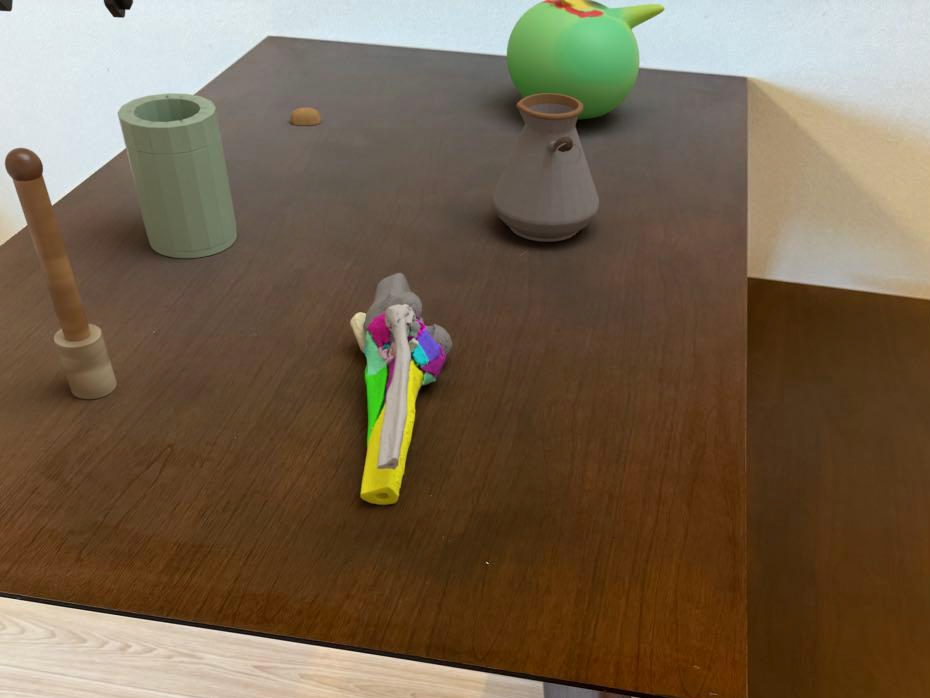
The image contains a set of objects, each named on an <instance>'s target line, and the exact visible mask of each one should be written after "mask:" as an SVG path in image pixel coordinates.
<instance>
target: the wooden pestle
mask: <svg viewBox="0 0 930 698" xmlns="http://www.w3.org/2000/svg"><path fill="white" fill-rule="evenodd" d="M4 168H5V170H6V173H7V174H8V176H9V177H10V178H11V179H12V183H13V185H14V188H15V189H14V190H15V192H16V195H17V198H18V201H19V204H20V207H21V211H22V213H23V216H24V219H25V222H26V225H27V228H28V230H29V231H28V232H29V234H30V237H31V240H32V243H33V247H34V250H35V252H36V256H37V259H38V261H39V264H40V268H41V271H42V274H43V277H44V280H45V283H46V286H47V289H48V292H49V295H50V297H51V301H52V304H53V308H54V310H55V313H56V317H57V319H58V322H59V326H60V329H59V330H58V331H56V333H55V334H54V336H53V342H54V344H55V348H56V350H57V353H58V356H59V359H60V362H61V365H62V368H63V371H64V374H65V378H66V380H67V383H68V385H69V388H70V392H71V394H72V395H73V396H74V397H76V398H78V399H81V400H95V399H101V398H104V397H107V396H108V395H110V394H112V393H113V392H114V391H115V390H116V388H117V385H118V382H117V379H116V375H115V372H114V369H113V365H112V362H111V359H110V355H109V352H108V348H107V345H106V342H105V338H104V335H103V332H102V329H101V328H100V327H99V326H98V325H95V324H93V323H89V321H88V318H87V315H86V312H85V309H84V306H83V302H82V299H81V296H80V293H79V288H78V286H77V283H76V280H75V276H74V272H73V270H72V266H71V263H70V260H69V257H68V253H67V250H66V247H65V244H64V240H63V237H62V233H61V231H60V227H59V224H58V220H57V217H56V214H55V210H54V208H53V204H52V201H51V198H50V195H49V192H48V188H47V184H46V181H45V179H44V175H43V173H44V165H43V162H42V159H41V158H40V157H39V155H38V154H37V153H36V152H34V151H33V150H31V149H29V148H25V147H16V148H13V149H11V150H10V151H9V152H8V153H7V154H6V156H5V159H4Z"/></svg>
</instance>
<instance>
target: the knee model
mask: <svg viewBox="0 0 930 698" xmlns="http://www.w3.org/2000/svg"><path fill="white" fill-rule="evenodd" d="M422 303H423V302H422V300H421V299H420V297H419V296H418V295H417V294H415V292H412V290H411V288H410V286H409V283H408V280H407V278H406V276H405V275H404V274H403V273H402V272H397V273H393V274H391V275H389V276H386V277H385V278H383V279H381V280H380V281H379V282H378V284H377V285H376V289H375V295H374V300H373V303H372V304H371V306H370V307H368V310H367V311H366V313H365V312H360V311H359V312H357V313H355V314H354V315H353V317H352V318H351V319H350V323H349V324H350V327H351V329H352V331H353V334H354V335H353V336H354V337H355V339H356V342H357V344H358V347H359V349H360V351H361V352H362V353H363V354H364V356H365V358H366V366H365V369H364V382H365V385H366V398H367V399H366V400H367V401H366V402H367V433H366V434H367V436H366V437H367V438H366V448H367V449H366V457H365V461H364V462H365V463H364V469H363V473H362V480H361V486H360V487H361V488H360V494H359V495H360V498H361V499H362V500H363V501H365V502H367V503H369V504H374V505H375V504H376V505H380V506H381V505H382V506H386V505H394V504H396V503H397V502H398V500H399V496H400V490H401V488H402V486H401V485H402V482H403V476H404V475H405V469H406V462H407V457H408V456H407V455H408V451H409V449H410V445H411V441H412V436H413V430H414V425H415V420H416V412H417V410H416V401H417V399H418V395H419V391H420V390H421V387H423V386H427V385H430V384H431V383H433V382H436V381H437V380H436V378H437V376H438V375H440V372H441V371H442V370H443V366H444V365H445V363H446V359H447V356H448V355H449V354H450V352H451V351H452V349H453V346H454V344H453V341H452V339H451V335H450V334H449V332H447V330H446V329H445V328H444V327H442V326H441V325H438V324H436V323H433V324H432V325H426V324H425V322H424V318H423V317H422V313H423V304H422Z"/></svg>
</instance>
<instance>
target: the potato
mask: <svg viewBox="0 0 930 698" xmlns="http://www.w3.org/2000/svg"><path fill="white" fill-rule="evenodd" d="M290 123H291V124H292V125H294V126H315V125H320V124H321V123H322V117H321V114H320V112H319V111H318V109H315V108H314V107H313V108H312V107H306V106H303V107H298V108H296V109H294V110H292V112H291V114H290Z"/></svg>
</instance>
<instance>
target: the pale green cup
mask: <svg viewBox="0 0 930 698" xmlns="http://www.w3.org/2000/svg"><path fill="white" fill-rule="evenodd" d="M117 118H118V120H119V125H120V128H121V129H120V130H121V134H122V138H123V141H124V145H125V151H126V154H127V159H128V162H129V166H130V171H131V175H132V179H133V183H134V187H135V191H136V194H137V199H138V205H139V208H140V212H141V217H142V221H143V224H144V228H145V233H146V236H147V238H148V243H149V246H150V247H151V249H152V250H153V251H155V252H156V253H157V254H159V255H162V256H164V257H170V258H175V259H199V258H205V257H209V256H212V255H213V256H214V255H216V254H219V253H222V252H223V251H225V250H227V249H229V248H231V246H232V245H234V243H235V242H236V241H237V237H238V232H237V222H236V215H235V211H234V205H233V198H232V194H231V188H230V181H229V176H228V171H227V165H226V157H225V154H224V146H223V140H222V136H221V135H222V134H221V129H220V124H219V118H218V111H217V107H216V106H215V104H214V103H213V101H212V100H210V99H207V98H206V97H204V96H201V95H195V94H190V93H171V92H170V93H159V94H151V95H146V96H142V97H139V98H134V99H132V100H130V101H128V102H126V103H124V104H123V105H121V107H120V108H119V109H118V111H117Z"/></svg>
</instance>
